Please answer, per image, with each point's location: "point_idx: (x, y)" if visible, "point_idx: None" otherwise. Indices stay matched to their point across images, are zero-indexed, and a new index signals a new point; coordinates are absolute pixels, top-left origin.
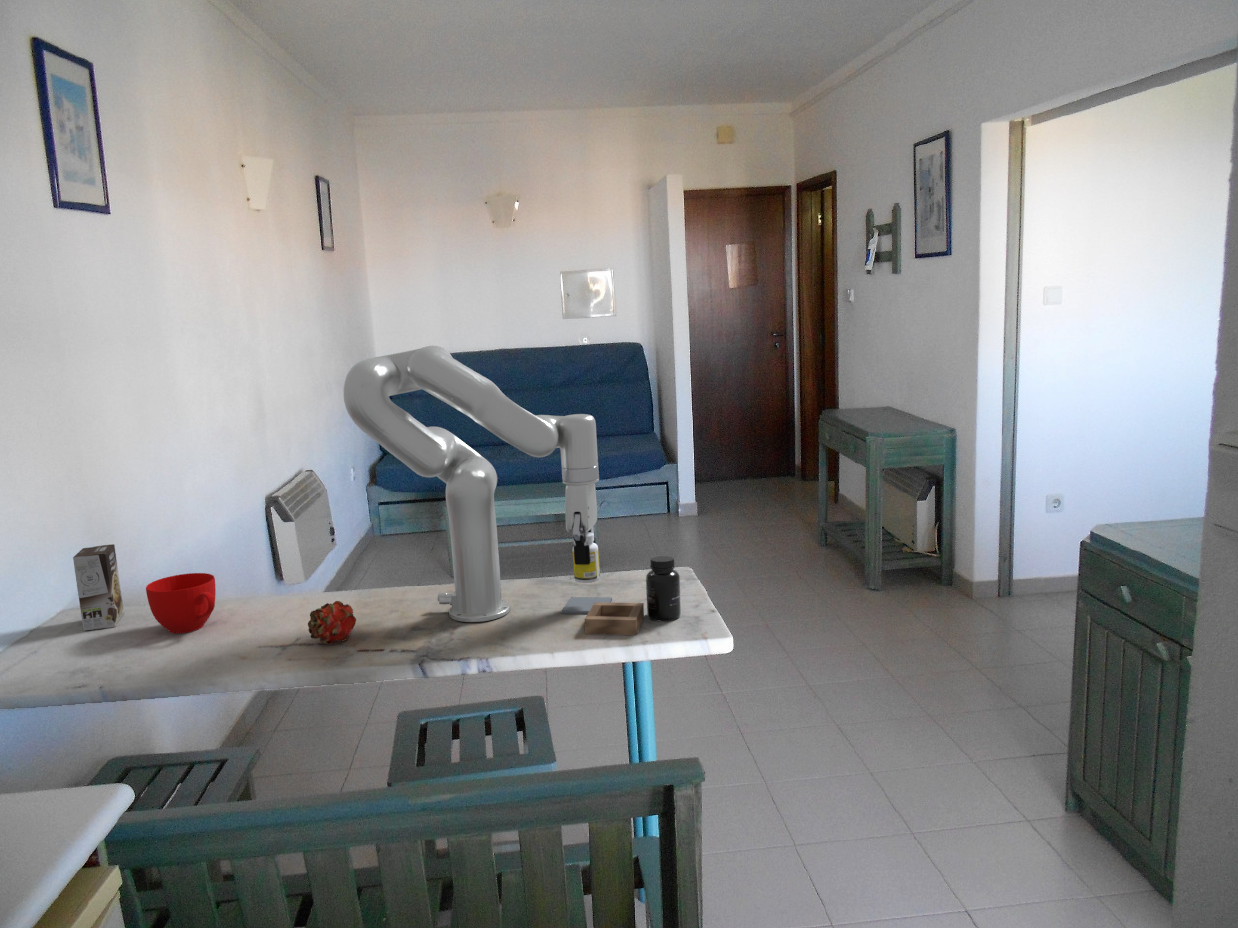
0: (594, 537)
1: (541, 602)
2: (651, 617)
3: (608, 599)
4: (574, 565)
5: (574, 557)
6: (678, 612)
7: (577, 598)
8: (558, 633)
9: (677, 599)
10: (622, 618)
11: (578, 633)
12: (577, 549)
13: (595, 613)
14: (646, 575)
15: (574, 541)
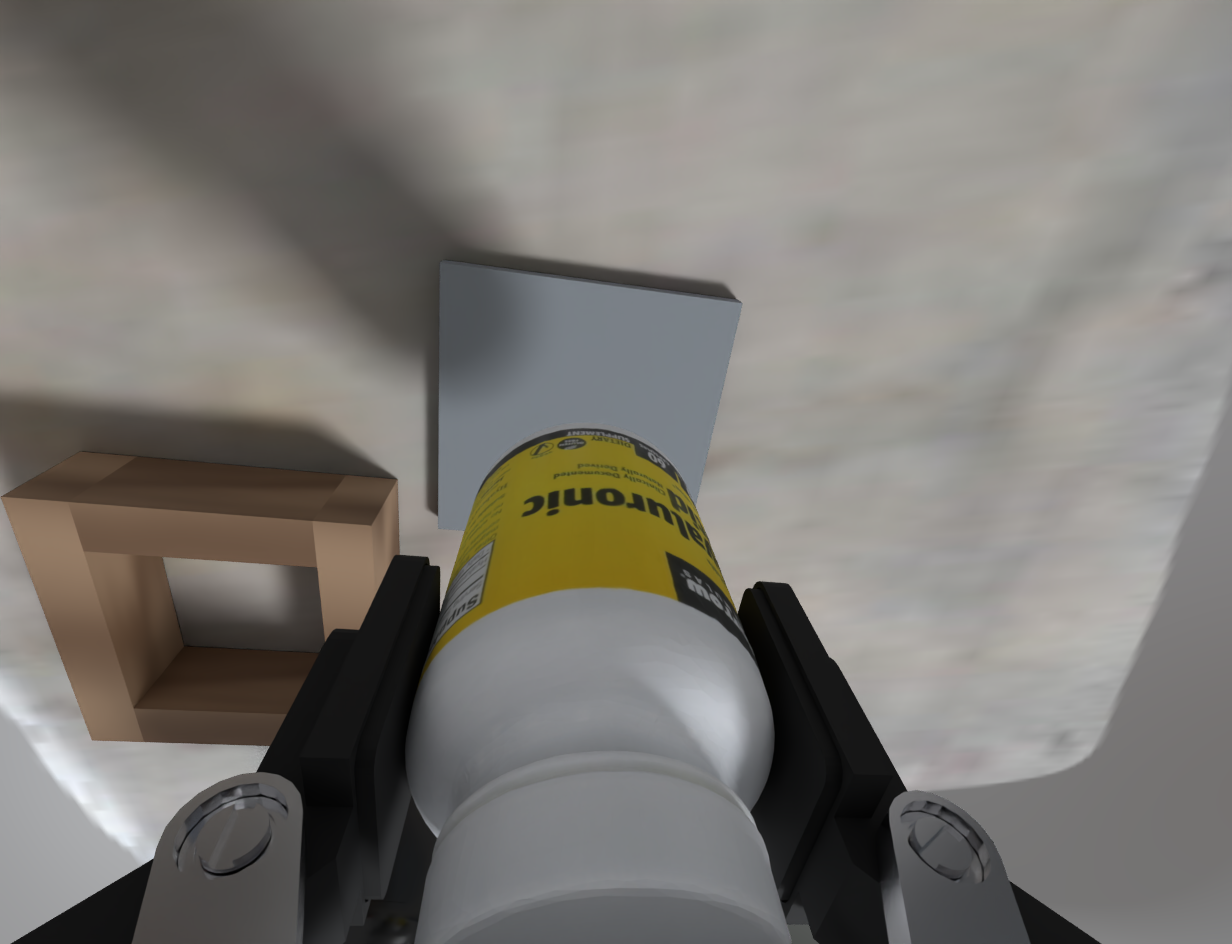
0: (805, 917)
1: (712, 53)
2: None
3: None
4: (514, 504)
5: (374, 603)
6: None
7: (699, 351)
8: (33, 283)
9: None
10: (97, 685)
11: (79, 411)
12: (266, 762)
13: (141, 549)
14: (358, 927)
15: (147, 899)
